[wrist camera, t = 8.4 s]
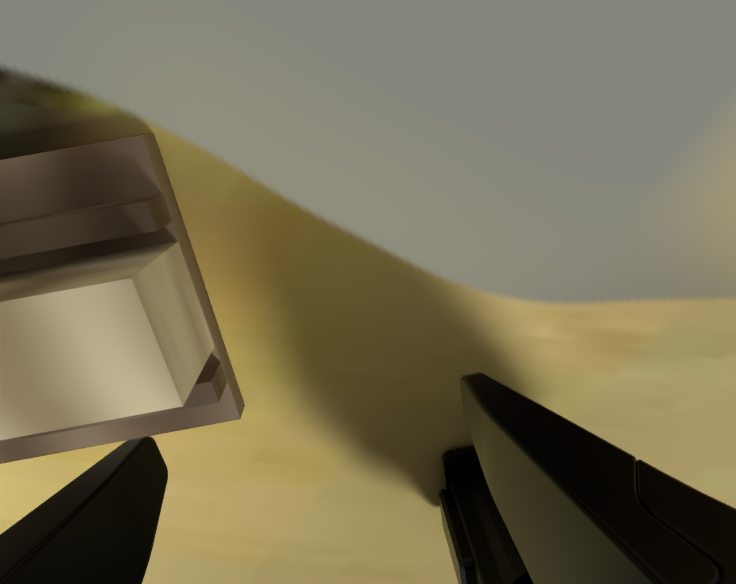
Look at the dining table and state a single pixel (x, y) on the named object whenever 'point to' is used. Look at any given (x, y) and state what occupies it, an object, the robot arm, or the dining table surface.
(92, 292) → the beige rectangular block
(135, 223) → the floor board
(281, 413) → the dining table surface
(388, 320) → the dining table surface
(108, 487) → the robot arm
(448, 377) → the dining table surface
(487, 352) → the dining table surface
